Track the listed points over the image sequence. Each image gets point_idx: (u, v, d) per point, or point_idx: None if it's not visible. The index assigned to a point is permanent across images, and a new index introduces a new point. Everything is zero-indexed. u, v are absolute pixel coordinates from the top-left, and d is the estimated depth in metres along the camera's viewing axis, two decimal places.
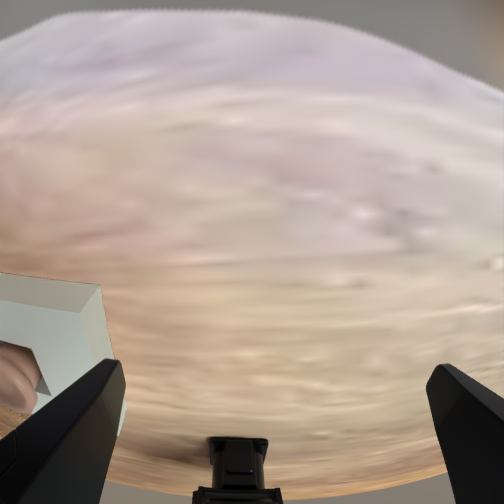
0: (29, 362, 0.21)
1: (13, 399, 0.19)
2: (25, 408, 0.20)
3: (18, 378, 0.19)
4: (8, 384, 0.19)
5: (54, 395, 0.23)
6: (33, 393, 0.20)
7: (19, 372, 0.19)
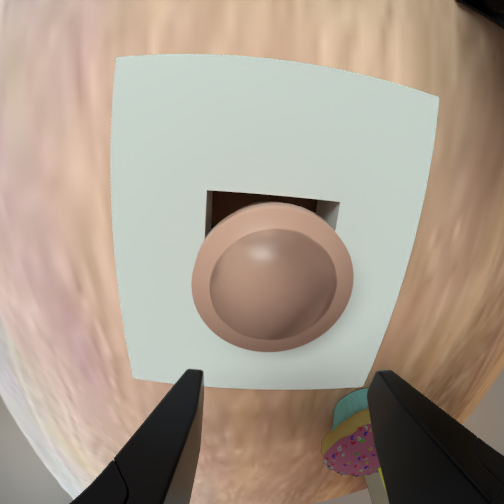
0: None
1: (306, 277, 0.12)
2: (332, 253, 0.12)
3: (230, 220, 0.12)
4: (251, 261, 0.12)
5: (336, 193, 0.14)
6: (284, 205, 0.12)
7: (225, 218, 0.12)
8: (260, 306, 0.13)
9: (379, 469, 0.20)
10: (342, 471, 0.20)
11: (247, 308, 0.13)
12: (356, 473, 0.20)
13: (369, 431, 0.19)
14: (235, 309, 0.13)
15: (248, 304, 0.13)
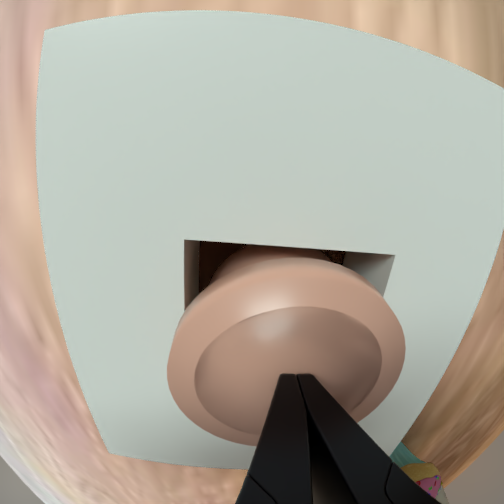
0: (245, 261, 0.10)
1: (338, 368, 0.08)
2: (381, 335, 0.07)
3: (223, 291, 0.07)
4: (257, 352, 0.07)
5: (390, 242, 0.09)
6: (311, 265, 0.07)
7: (216, 283, 0.07)
8: (269, 404, 0.08)
9: None
10: None
11: (251, 407, 0.08)
12: None
13: None
14: (233, 407, 0.08)
15: (252, 402, 0.08)
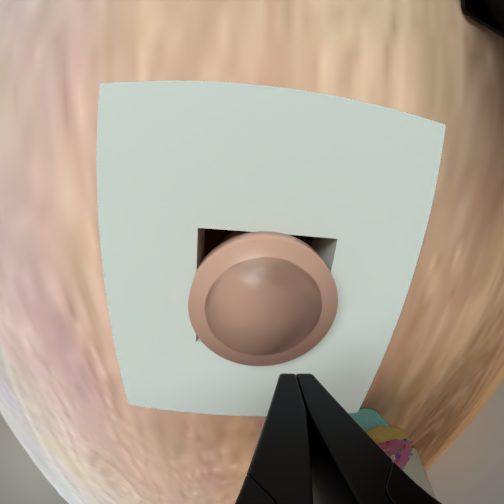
0: None
1: (293, 300, 0.13)
2: (318, 279, 0.13)
3: (223, 249, 0.13)
4: (242, 286, 0.13)
5: (333, 230, 0.14)
6: (273, 234, 0.13)
7: (219, 246, 0.13)
8: (251, 326, 0.14)
9: None
10: None
11: (239, 328, 0.14)
12: None
13: None
14: (228, 328, 0.14)
15: (240, 324, 0.14)
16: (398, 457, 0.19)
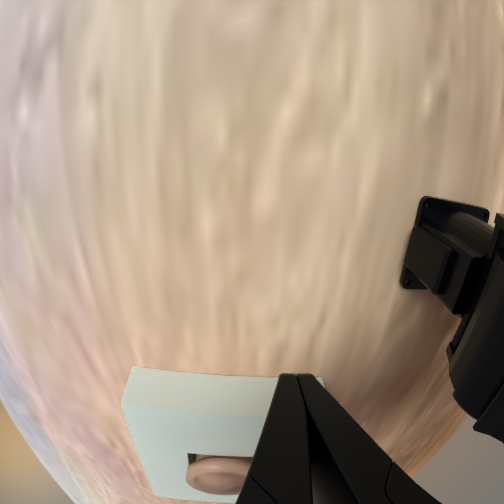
0: None
1: (236, 480, 0.22)
2: None
3: (200, 466, 0.21)
4: (210, 477, 0.22)
5: None
6: (224, 461, 0.21)
7: (198, 461, 0.22)
8: (217, 486, 0.22)
9: None
10: None
11: (211, 486, 0.22)
12: None
13: None
14: (206, 486, 0.22)
15: (211, 485, 0.22)
16: None
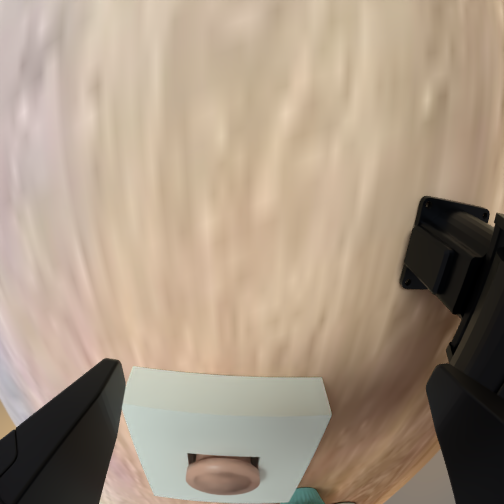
0: None
1: (236, 480, 0.22)
2: (247, 476, 0.22)
3: (200, 466, 0.21)
4: (210, 477, 0.22)
5: (257, 454, 0.22)
6: (224, 461, 0.21)
7: (198, 461, 0.22)
8: (217, 486, 0.22)
9: None
10: None
11: (211, 486, 0.22)
12: None
13: None
14: (206, 486, 0.22)
15: (211, 485, 0.22)
16: None
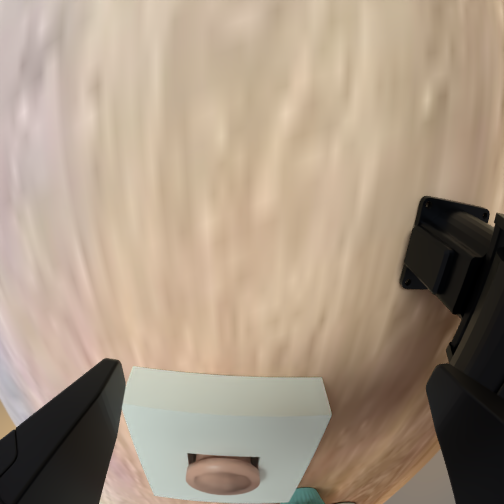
0: None
1: (236, 480, 0.22)
2: (247, 476, 0.22)
3: (200, 466, 0.21)
4: (210, 477, 0.22)
5: (257, 454, 0.22)
6: (224, 461, 0.21)
7: (198, 461, 0.22)
8: (217, 486, 0.22)
9: None
10: None
11: (211, 486, 0.22)
12: None
13: None
14: (206, 486, 0.22)
15: (211, 485, 0.22)
16: None
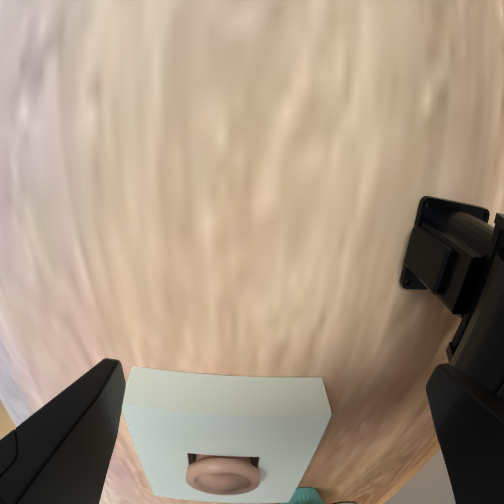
0: None
1: (236, 480, 0.22)
2: (247, 476, 0.22)
3: (200, 466, 0.21)
4: (210, 477, 0.22)
5: (257, 454, 0.22)
6: (224, 461, 0.21)
7: (198, 461, 0.22)
8: (217, 486, 0.22)
9: None
10: None
11: (211, 486, 0.22)
12: None
13: None
14: (206, 486, 0.22)
15: (211, 485, 0.22)
16: None
